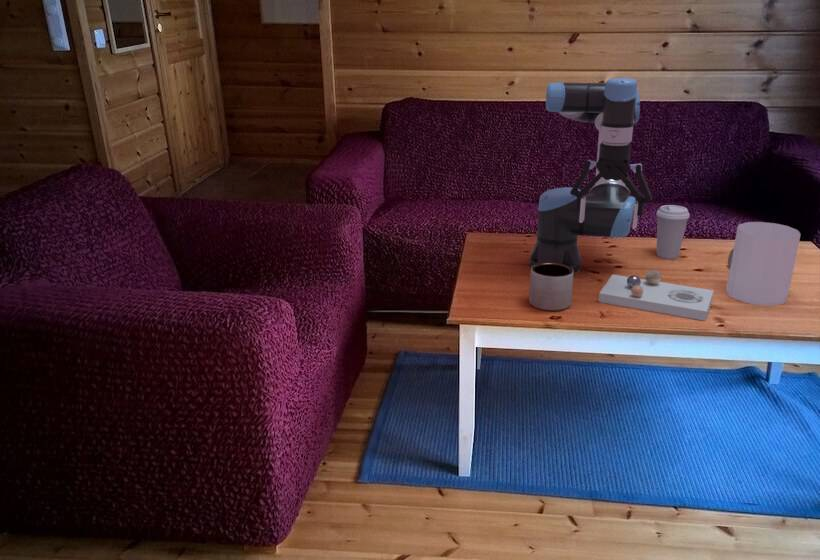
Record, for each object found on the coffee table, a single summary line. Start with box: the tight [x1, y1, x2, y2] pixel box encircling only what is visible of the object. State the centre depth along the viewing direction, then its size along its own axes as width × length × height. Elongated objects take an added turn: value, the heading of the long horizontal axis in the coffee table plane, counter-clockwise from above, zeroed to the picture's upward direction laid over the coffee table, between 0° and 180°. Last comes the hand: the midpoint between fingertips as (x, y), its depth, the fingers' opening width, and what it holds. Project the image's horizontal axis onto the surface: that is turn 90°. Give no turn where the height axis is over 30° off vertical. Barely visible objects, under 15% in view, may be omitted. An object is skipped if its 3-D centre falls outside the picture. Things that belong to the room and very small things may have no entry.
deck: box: [598, 274, 715, 322], centre depth 175 cm, size 26×15×2 cm, turn 61°
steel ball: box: [627, 274, 641, 288], centre depth 177 cm, size 4×4×4 cm
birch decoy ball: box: [644, 268, 662, 284], centre depth 179 cm, size 4×4×4 cm
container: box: [725, 221, 801, 307], centre depth 175 cm, size 14×14×18 cm
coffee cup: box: [655, 204, 691, 260], centre depth 205 cm, size 10×10×15 cm
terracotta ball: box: [631, 285, 643, 297], centre depth 171 cm, size 3×3×3 cm
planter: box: [528, 262, 575, 312], centre depth 173 cm, size 11×11×10 cm
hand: (607, 224), depth 176 cm, fingers open, 13 cm apart
